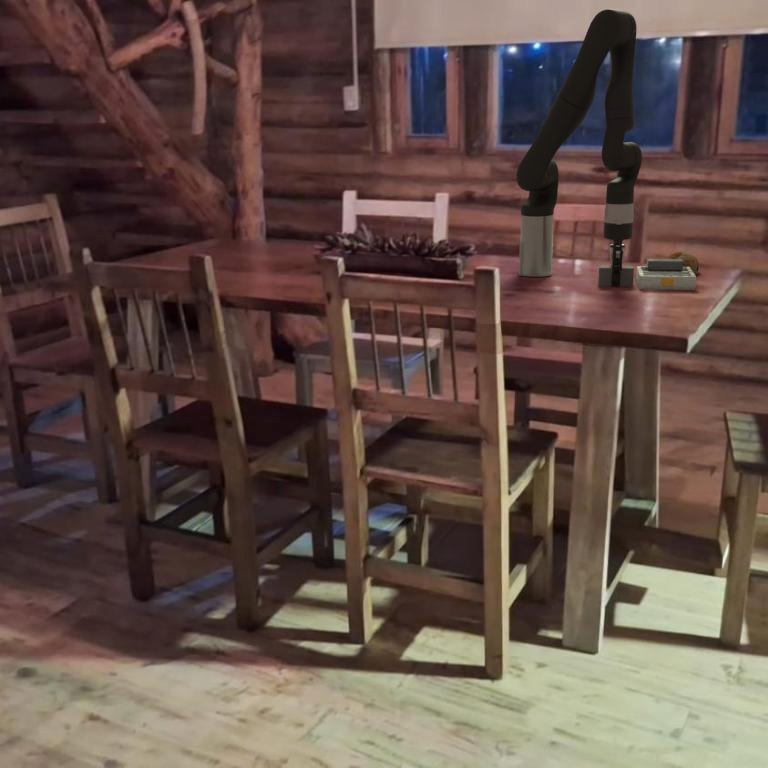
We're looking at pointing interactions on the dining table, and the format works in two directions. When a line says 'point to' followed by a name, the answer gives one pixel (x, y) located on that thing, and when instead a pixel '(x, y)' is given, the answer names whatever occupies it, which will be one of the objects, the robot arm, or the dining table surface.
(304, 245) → the dining table surface
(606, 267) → the panel
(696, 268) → the bread roll
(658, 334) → the dining table surface
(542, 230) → the robot arm
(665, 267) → the rack
